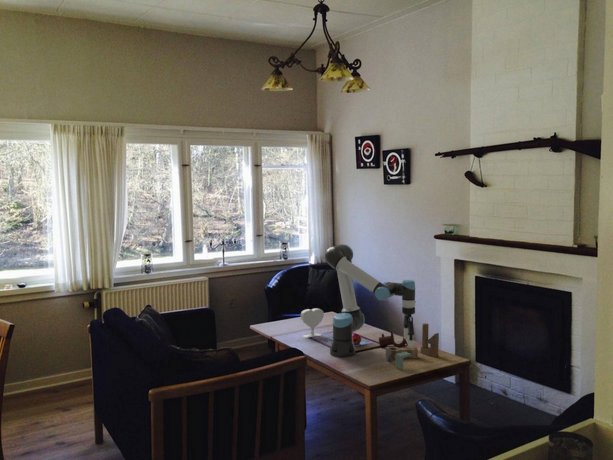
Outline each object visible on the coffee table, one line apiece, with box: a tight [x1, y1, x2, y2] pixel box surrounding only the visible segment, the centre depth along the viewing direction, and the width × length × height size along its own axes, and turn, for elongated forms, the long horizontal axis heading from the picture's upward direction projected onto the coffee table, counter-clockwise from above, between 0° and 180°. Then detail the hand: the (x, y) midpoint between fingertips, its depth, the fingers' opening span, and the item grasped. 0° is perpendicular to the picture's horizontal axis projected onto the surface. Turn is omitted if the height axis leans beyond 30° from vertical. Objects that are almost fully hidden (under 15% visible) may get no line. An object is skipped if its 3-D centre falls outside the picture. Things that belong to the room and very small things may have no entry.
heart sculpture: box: [300, 307, 325, 339], centre depth 361 cm, size 16×5×18 cm, turn 116°
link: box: [385, 346, 419, 360], centre depth 318 cm, size 18×7×5 cm, turn 90°
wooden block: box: [420, 322, 440, 358], centre depth 323 cm, size 4×11×18 cm, turn 39°
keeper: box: [394, 352, 411, 370], centre depth 301 cm, size 4×8×8 cm, turn 125°
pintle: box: [386, 349, 392, 363], centre depth 311 cm, size 2×2×7 cm
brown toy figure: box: [378, 331, 408, 348], centre depth 338 cm, size 6×17×10 cm, turn 78°
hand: (408, 342), depth 317 cm, fingers open, 13 cm apart
